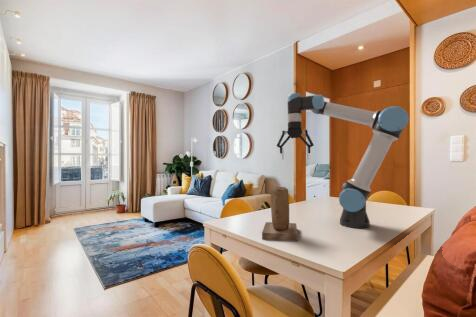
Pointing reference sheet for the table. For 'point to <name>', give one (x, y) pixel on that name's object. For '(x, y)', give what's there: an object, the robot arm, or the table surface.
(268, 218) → the table surface
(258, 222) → the table surface
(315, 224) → the table surface
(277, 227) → the block
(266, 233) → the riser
